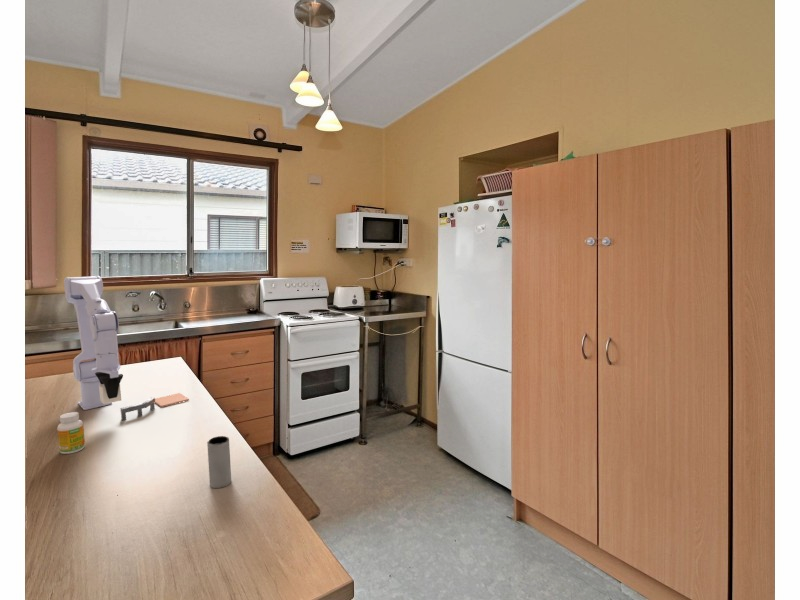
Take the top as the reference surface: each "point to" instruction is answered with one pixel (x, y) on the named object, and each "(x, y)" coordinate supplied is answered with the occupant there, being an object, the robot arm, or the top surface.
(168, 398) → the terracotta tile
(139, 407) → the bent rail
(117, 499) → the top surface
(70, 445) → the supplement bottle
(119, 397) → the cream block
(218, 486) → the grey tube
